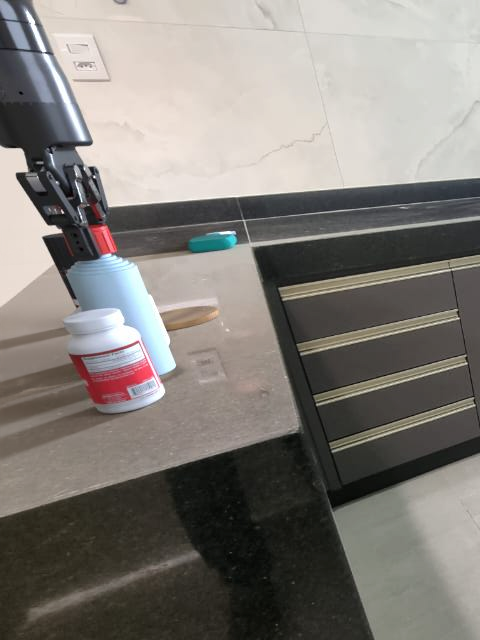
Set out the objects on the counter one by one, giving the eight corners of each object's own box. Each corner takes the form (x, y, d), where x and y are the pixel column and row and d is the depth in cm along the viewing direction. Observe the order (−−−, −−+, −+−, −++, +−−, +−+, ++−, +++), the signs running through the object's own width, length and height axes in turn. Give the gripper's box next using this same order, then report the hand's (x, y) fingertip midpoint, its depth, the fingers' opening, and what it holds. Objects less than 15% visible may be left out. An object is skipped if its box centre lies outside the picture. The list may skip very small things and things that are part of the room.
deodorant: (108, 316, 94) (69, 231, 88) (140, 315, 94) (102, 230, 88) (74, 327, 89) (30, 238, 83) (108, 327, 88) (66, 237, 82)
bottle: (101, 385, 67) (34, 240, 60) (131, 365, 73) (73, 231, 66) (160, 379, 69) (101, 237, 61) (185, 360, 74) (134, 228, 67)
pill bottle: (112, 396, 64) (69, 310, 60) (174, 386, 66) (137, 302, 62) (87, 420, 59) (39, 327, 55) (155, 408, 61) (114, 318, 57)
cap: (69, 254, 64) (57, 228, 63) (113, 248, 67) (102, 223, 66) (76, 258, 62) (64, 231, 61) (121, 252, 65) (110, 226, 63)
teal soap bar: (187, 253, 143) (200, 241, 163) (235, 248, 148) (242, 236, 168) (183, 242, 142) (196, 231, 162) (232, 237, 147) (239, 227, 167)
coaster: (131, 333, 85) (129, 328, 85) (165, 314, 94) (163, 309, 94) (202, 326, 87) (200, 321, 87) (229, 308, 96) (227, 303, 96)
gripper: (43, 96, 53) (115, 264, 60) (99, 104, 65) (154, 243, 72) (-63, 96, 50) (26, 273, 57) (16, 104, 62) (82, 249, 69)
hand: (97, 255), depth 65 cm, fingers closed on cap, 4 cm apart
